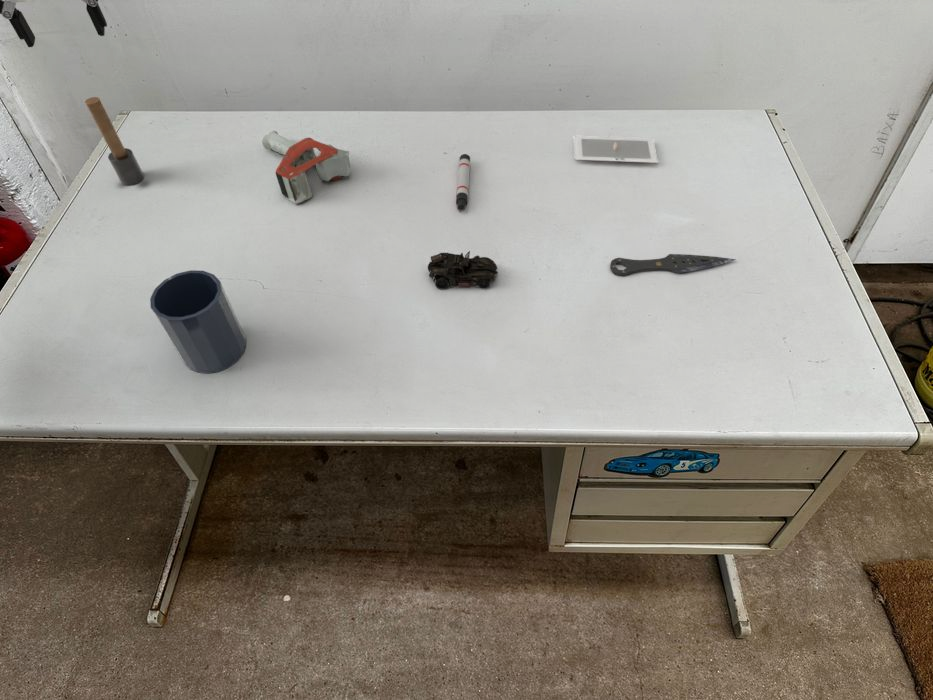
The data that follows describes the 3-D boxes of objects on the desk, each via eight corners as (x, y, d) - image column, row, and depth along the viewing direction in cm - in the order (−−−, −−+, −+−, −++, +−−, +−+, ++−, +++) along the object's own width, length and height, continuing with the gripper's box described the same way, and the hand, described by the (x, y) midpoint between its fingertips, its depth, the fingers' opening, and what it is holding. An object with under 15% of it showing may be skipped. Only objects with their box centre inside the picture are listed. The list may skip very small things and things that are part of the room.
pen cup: (185, 381, 82) (151, 327, 73) (180, 335, 87) (148, 280, 78) (250, 363, 83) (224, 308, 75) (242, 319, 88) (217, 263, 80)
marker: (459, 163, 112) (459, 153, 111) (470, 163, 112) (470, 153, 111) (455, 216, 103) (454, 206, 101) (466, 216, 103) (466, 207, 101)
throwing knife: (606, 259, 96) (607, 256, 95) (731, 251, 97) (732, 248, 96) (613, 278, 93) (614, 275, 92) (740, 270, 94) (742, 267, 93)
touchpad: (572, 140, 117) (574, 130, 115) (651, 143, 116) (654, 133, 114) (573, 164, 112) (575, 154, 110) (656, 167, 111) (659, 157, 109)
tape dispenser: (270, 148, 118) (249, 208, 105) (262, 123, 114) (238, 181, 101) (360, 142, 118) (350, 201, 104) (355, 116, 114) (343, 173, 100)
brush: (121, 187, 108) (78, 108, 97) (120, 174, 111) (79, 96, 99) (144, 182, 109) (105, 104, 98) (143, 170, 112) (105, 92, 100)
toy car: (430, 261, 96) (429, 239, 92) (506, 264, 95) (507, 243, 92) (425, 289, 92) (424, 267, 89) (505, 293, 91) (506, 272, 88)
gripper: (71, -118, 80) (128, 17, 94) (-75, -102, 77) (6, 36, 90) (68, -101, 76) (129, 38, 90) (-87, -84, 73) (0, 59, 86)
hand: (67, 37), depth 90 cm, fingers open, 9 cm apart
